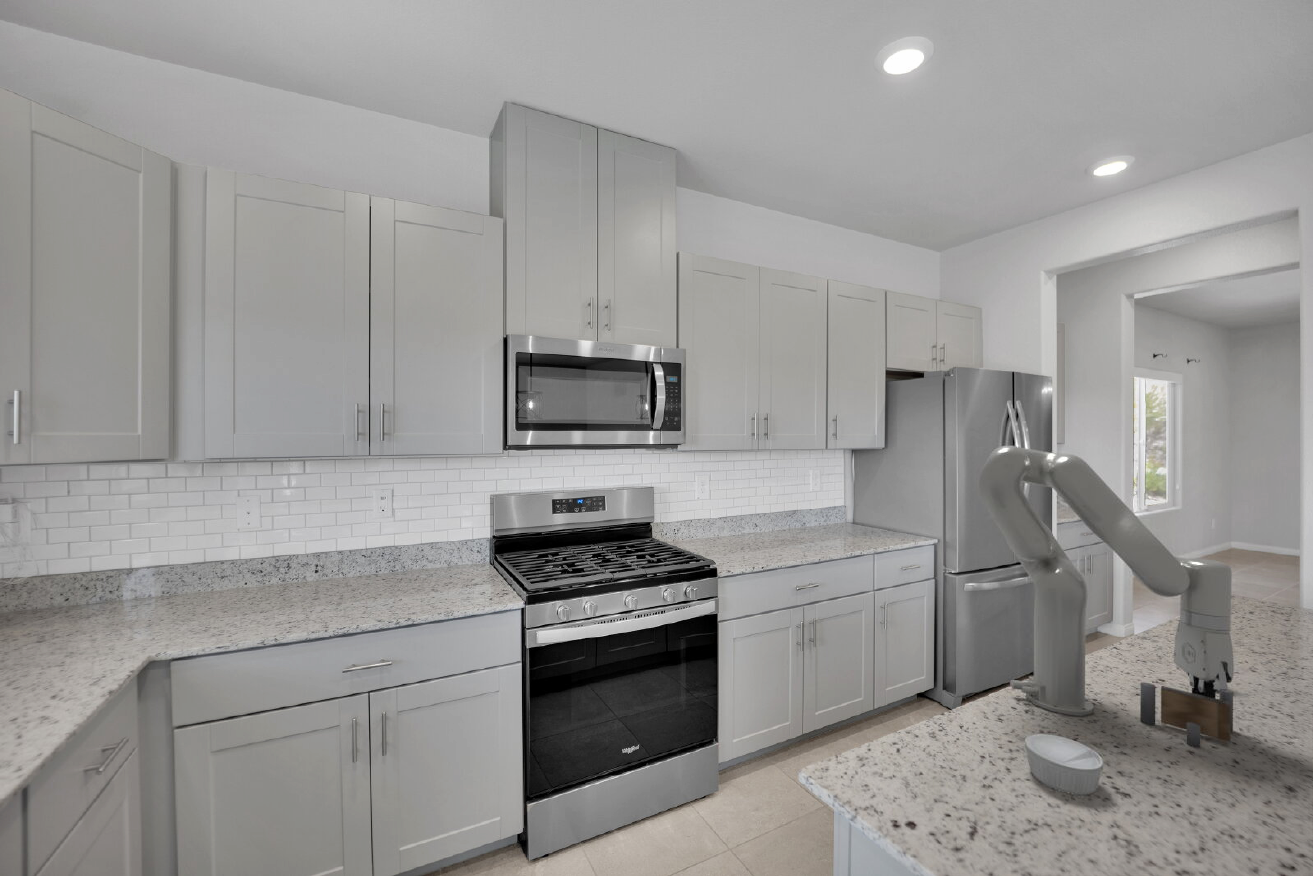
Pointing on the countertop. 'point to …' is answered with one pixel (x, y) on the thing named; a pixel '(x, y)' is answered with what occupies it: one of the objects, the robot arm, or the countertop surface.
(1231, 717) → the post
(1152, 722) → the gate frame
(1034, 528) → the robot arm
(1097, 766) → the ramekin
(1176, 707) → the gate
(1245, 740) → the countertop surface
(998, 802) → the countertop surface
